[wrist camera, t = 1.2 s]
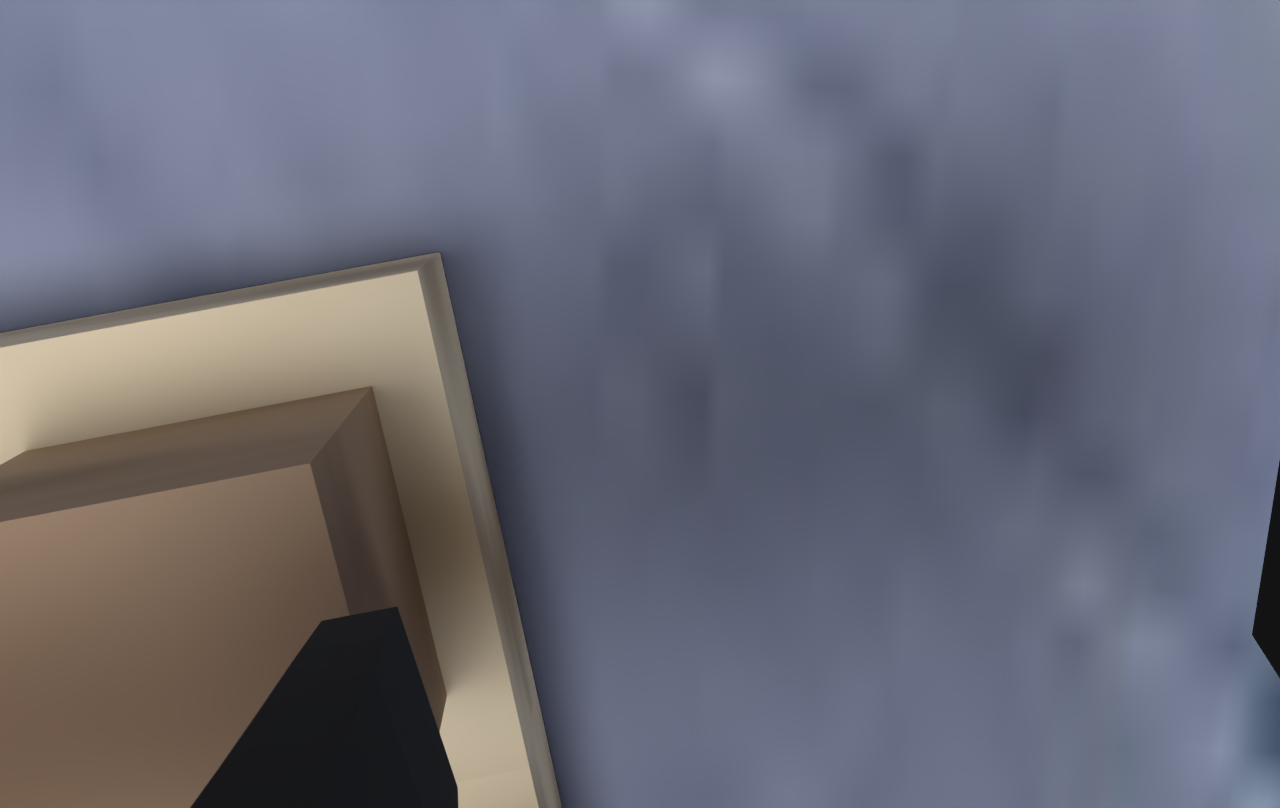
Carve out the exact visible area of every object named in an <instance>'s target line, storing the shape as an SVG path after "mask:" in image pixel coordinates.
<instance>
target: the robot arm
mask: <svg viewBox="0 0 1280 808" xmlns="http://www.w3.org/2000/svg"><path fill="white" fill-rule="evenodd" d="M1252 635H1253V637H1254V639H1255V640H1256V642H1257V643H1258V645H1259V646H1260V648H1261V649H1262V651H1263V653H1264V654H1265V656H1266V657H1267V659H1268V660H1269V662H1270V664H1271V665H1272V667H1273V668H1274V670H1275V671H1276V673H1277V675H1278V676H1279V678H1280V462H1279V468H1278V475H1277V481H1276V487H1275V494H1274V500H1273V506H1272V513H1271V519H1270V525H1269V532H1268V538H1267V544H1266V550H1265V557H1264V563H1263V569H1262V576H1261V582H1260V588H1259V595H1258V601H1257V607H1256V614H1255V620H1254V626H1253V632H1252ZM190 808H458V787H457V784H456V781H455V778H454V775H453V772H452V769H451V766H450V763H449V760H448V757H447V754H446V751H445V748H444V745H443V742H442V739H441V736H440V733H439V730H438V727H437V724H436V721H435V718H434V715H433V712H432V709H431V706H430V703H429V700H428V697H427V694H426V691H425V688H424V685H423V682H422V679H421V676H420V673H419V670H418V667H417V664H416V661H415V658H414V655H413V652H412V649H411V646H410V643H409V640H408V637H407V634H406V631H405V628H404V625H403V622H402V619H401V616H400V613H399V610H398V607H392V608H386V609H381V610H376V611H370V612H365V613H360V614H354V615H349V616H344V617H339V618H333V619H328V620H323V621H321V622H320V624H319V625H318V626H317V628H316V629H315V630H314V632H313V633H312V635H311V636H310V637H309V639H308V640H307V642H306V643H305V644H304V646H303V647H302V648H301V650H300V651H299V653H298V654H297V655H296V657H295V658H294V660H293V661H292V663H291V664H290V665H289V667H288V668H287V670H286V671H285V673H284V674H283V676H282V677H281V679H280V680H279V681H278V683H277V684H276V686H275V687H274V689H273V690H272V692H271V693H270V695H269V696H268V697H267V699H266V700H265V702H264V703H263V705H262V706H261V708H260V709H259V711H258V712H257V714H256V715H255V716H254V718H253V719H252V721H251V722H250V724H249V725H248V727H247V728H246V729H245V731H244V732H243V734H242V735H241V737H240V738H239V740H238V741H237V742H236V744H235V745H234V747H233V748H232V750H231V751H230V752H229V754H228V755H227V757H226V758H225V760H224V761H223V763H222V764H221V765H220V767H219V768H218V770H217V771H216V772H215V774H214V775H213V776H212V778H211V779H210V781H209V782H208V783H207V785H206V786H205V788H204V789H203V790H202V792H201V793H200V794H199V796H198V797H197V799H196V800H195V801H194V803H193V804H192V806H191V807H190Z"/></svg>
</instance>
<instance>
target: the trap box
mask: <svg viewBox="0 0 1280 808" xmlns="http://www.w3.org/2000/svg"><path fill="white" fill-rule="evenodd" d="M369 386H372V388H373V392H374V396H375V401H376V405H377V409H378V413H379V417H380V421H381V425H382V429H383V434H384V438H385V442H386V446H387V450H388V454H389V458H390V463H391V467H392V471H393V475H394V479H395V483H396V487H397V491H398V496H399V500H400V504H401V508H402V512H403V516H404V520H405V524H406V529H407V533H408V537H409V541H410V545H411V549H412V553H413V557H414V562H415V566H416V570H417V574H418V578H419V582H420V586H421V591H422V595H423V599H424V603H425V607H426V611H427V615H428V619H429V624H430V628H431V632H432V636H433V640H434V644H435V648H436V652H437V657H438V661H439V665H440V669H441V673H442V677H443V681H444V685H445V690H446V694H447V698H446V703H445V708H444V712H443V717H442V722H441V727H440V732H439V733H440V736H441V739H442V742H443V745H444V748H445V751H446V754H447V757H448V760H449V763H450V766H451V769H452V772H453V775H454V778H455V781H456V784H457V787H458V808H562V805H561V800H560V796H559V791H558V786H557V782H556V777H555V773H554V768H553V764H552V759H551V755H550V750H549V746H548V741H547V736H546V732H545V727H544V723H543V718H542V714H541V709H540V705H539V700H538V696H537V691H536V686H535V682H534V677H533V673H532V668H531V664H530V659H529V655H528V650H527V646H526V641H525V636H524V632H523V627H522V623H521V618H520V614H519V609H518V605H517V600H516V596H515V591H514V586H513V582H512V577H511V573H510V568H509V564H508V559H507V555H506V550H505V546H504V541H503V536H502V532H501V527H500V523H499V518H498V514H497V509H496V505H495V500H494V496H493V491H492V486H491V482H490V477H489V473H488V468H487V464H486V459H485V455H484V450H483V446H482V441H481V436H480V432H479V427H478V423H477V418H476V414H475V409H474V405H473V400H472V396H471V391H470V386H469V382H468V377H467V373H466V368H465V364H464V359H463V355H462V350H461V346H460V341H459V336H458V332H457V327H456V323H455V318H454V314H453V309H452V305H451V300H450V296H449V291H448V286H447V282H446V277H445V273H444V268H443V264H442V259H441V255H440V252H437V253H432V254H426V255H421V256H415V257H410V258H405V259H399V260H394V261H388V262H383V263H377V264H372V265H367V266H361V267H356V268H350V269H345V270H339V271H334V272H329V273H323V274H318V275H312V276H307V277H301V278H296V279H291V280H285V281H280V282H274V283H269V284H263V285H258V286H253V287H247V288H242V289H236V290H231V291H225V292H220V293H215V294H209V295H204V296H198V297H193V298H187V299H182V300H177V301H171V302H166V303H160V304H155V305H149V306H144V307H139V308H133V309H128V310H122V311H117V312H111V313H106V314H101V315H95V316H90V317H84V318H79V319H73V320H68V321H63V322H57V323H52V324H46V325H41V326H35V327H30V328H25V329H19V330H14V331H8V332H3V333H0V465H1V464H3V463H5V462H6V461H8V460H10V459H12V458H14V457H15V456H17V455H19V454H21V453H22V452H24V451H28V450H34V449H39V448H44V447H50V446H55V445H60V444H66V443H71V442H76V441H82V440H87V439H92V438H98V437H103V436H108V435H113V434H119V433H124V432H129V431H135V430H140V429H145V428H151V427H156V426H161V425H167V424H172V423H177V422H183V421H188V420H193V419H199V418H204V417H209V416H215V415H220V414H225V413H231V412H236V411H241V410H247V409H252V408H257V407H263V406H268V405H273V404H278V403H284V402H289V401H294V400H300V399H305V398H310V397H316V396H321V395H326V394H332V393H337V392H342V391H348V390H353V389H358V388H364V387H369Z"/></svg>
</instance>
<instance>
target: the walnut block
mask: <svg viewBox="0 0 1280 808" xmlns="http://www.w3.org/2000/svg"><path fill="white" fill-rule="evenodd" d="M392 607H398V610H399V613H400V616H401V619H402V622H403V625H404V628H405V631H406V634H407V637H408V640H409V643H410V646H411V649H412V652H413V655H414V658H415V661H416V664H417V667H418V670H419V673H420V676H421V679H422V682H423V685H424V688H425V691H426V694H427V697H428V700H429V703H430V706H431V709H432V712H433V715H434V718H435V721H436V724H437V727H438V730H439V732H440V727H441V722H442V717H443V712H444V708H445V703H446V698H447V694H446V690H445V685H444V681H443V677H442V673H441V669H440V665H439V661H438V657H437V652H436V648H435V644H434V640H433V636H432V632H431V628H430V624H429V619H428V615H427V611H426V607H425V603H424V599H423V595H422V591H421V586H420V582H419V578H418V574H417V570H416V566H415V562H414V557H413V553H412V549H411V545H410V541H409V537H408V533H407V529H406V524H405V520H404V516H403V512H402V508H401V504H400V500H399V496H398V491H397V487H396V483H395V479H394V475H393V471H392V467H391V463H390V458H389V454H388V450H387V446H386V442H385V438H384V434H383V429H382V425H381V421H380V417H379V413H378V409H377V405H376V401H375V396H374V392H373V388H372V386H369V387H364V388H358V389H353V390H348V391H342V392H337V393H332V394H326V395H321V396H316V397H310V398H305V399H300V400H294V401H289V402H284V403H278V404H273V405H268V406H263V407H257V408H252V409H247V410H241V411H236V412H231V413H225V414H220V415H215V416H209V417H204V418H199V419H193V420H188V421H183V422H177V423H172V424H167V425H161V426H156V427H151V428H145V429H140V430H135V431H129V432H124V433H119V434H113V435H108V436H103V437H98V438H92V439H87V440H82V441H76V442H71V443H66V444H60V445H55V446H50V447H44V448H39V449H34V450H28V451H24V452H22V453H21V454H19V455H17V456H15V457H14V458H12V459H10V460H8V461H6V462H5V463H3V464H1V465H0V808H190V807H191V806H192V804H193V803H194V801H195V800H196V799H197V797H198V796H199V794H200V793H201V792H202V790H203V789H204V788H205V786H206V785H207V783H208V782H209V781H210V779H211V778H212V776H213V775H214V774H215V772H216V771H217V770H218V768H219V767H220V765H221V764H222V763H223V761H224V760H225V758H226V757H227V755H228V754H229V752H230V751H231V750H232V748H233V747H234V745H235V744H236V742H237V741H238V740H239V738H240V737H241V735H242V734H243V732H244V731H245V729H246V728H247V727H248V725H249V724H250V722H251V721H252V719H253V718H254V716H255V715H256V714H257V712H258V711H259V709H260V708H261V706H262V705H263V703H264V702H265V700H266V699H267V697H268V696H269V695H270V693H271V692H272V690H273V689H274V687H275V686H276V684H277V683H278V681H279V680H280V679H281V677H282V676H283V674H284V673H285V671H286V670H287V668H288V667H289V665H290V664H291V663H292V661H293V660H294V658H295V657H296V655H297V654H298V653H299V651H300V650H301V648H302V647H303V646H304V644H305V643H306V642H307V640H308V639H309V637H310V636H311V635H312V633H313V632H314V630H315V629H316V628H317V626H318V625H319V624H320V622H321V621H323V620H328V619H333V618H339V617H344V616H349V615H354V614H360V613H365V612H370V611H376V610H381V609H386V608H392Z"/></svg>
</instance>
